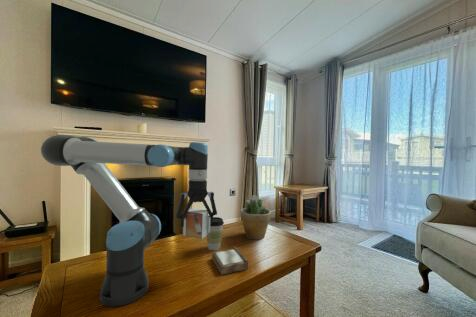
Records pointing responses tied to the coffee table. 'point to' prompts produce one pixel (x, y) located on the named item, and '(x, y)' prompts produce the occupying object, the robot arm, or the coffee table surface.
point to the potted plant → (255, 218)
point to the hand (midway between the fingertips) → (196, 232)
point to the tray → (230, 261)
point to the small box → (197, 223)
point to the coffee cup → (215, 234)
